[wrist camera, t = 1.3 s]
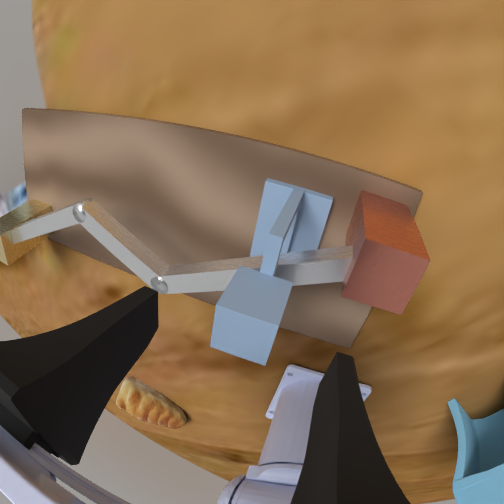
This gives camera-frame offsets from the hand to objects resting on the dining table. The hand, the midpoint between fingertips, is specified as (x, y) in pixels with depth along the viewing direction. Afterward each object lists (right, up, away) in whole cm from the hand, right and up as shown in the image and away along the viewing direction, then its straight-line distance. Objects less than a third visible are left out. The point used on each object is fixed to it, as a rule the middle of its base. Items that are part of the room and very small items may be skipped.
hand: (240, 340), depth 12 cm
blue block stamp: (+3, +5, +8) cm, 10 cm away
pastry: (-12, -15, +26) cm, 33 cm away
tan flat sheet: (-6, +6, +11) cm, 14 cm away
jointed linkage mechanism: (-6, +6, +11) cm, 14 cm away
